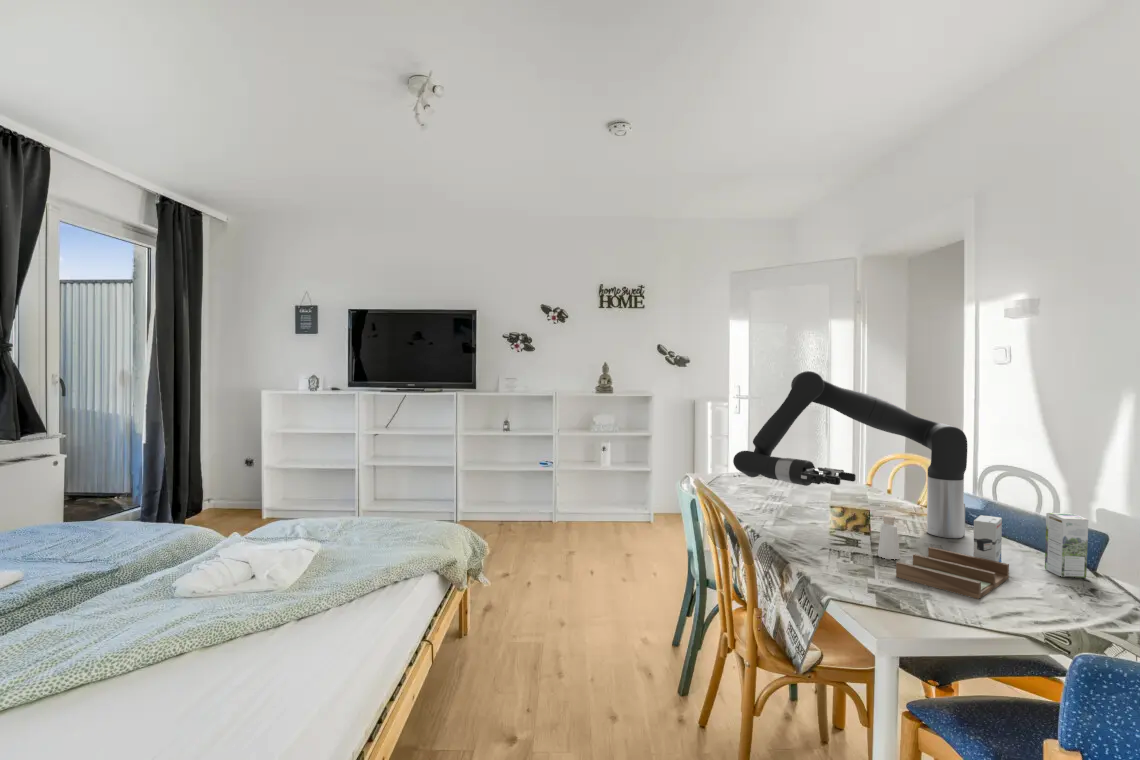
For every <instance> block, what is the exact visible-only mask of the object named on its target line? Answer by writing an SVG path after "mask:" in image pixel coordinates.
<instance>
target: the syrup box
mask: <svg viewBox="0 0 1140 760" xmlns="http://www.w3.org/2000/svg"><path fill="white" fill-rule="evenodd" d="M1045 515H1046V516H1045V544H1044V545H1045V546H1044V548H1045V549H1044V550H1045V551H1044V570H1046V571H1047V572H1050V573H1052V574H1054V575H1056V576H1058V577H1060V576H1061V578H1074V577H1075V578H1077V579H1078V578H1080V579H1086V578H1087V569H1088V568H1087V567H1088V541H1089V540H1088V538H1089V535H1088V534H1089V520H1088V519H1087V518H1086V517H1083V516H1081V515H1078V514H1075V513H1069V512H1068V513H1065V512H1064V513H1063V512H1062V513H1061V512H1047V513H1045Z"/></svg>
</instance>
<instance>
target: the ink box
mask: <svg viewBox="0 0 1140 760" xmlns="http://www.w3.org/2000/svg"><path fill="white" fill-rule="evenodd" d="M1002 521H1003V518H1002V517H998V516H991V515H982V514H980V515H979V516H977V517H976V518H975V519H974V520H973V556H974V557H979V558H983V559H988V560H992V561H997V562H1001V563H1002V544H1003V543H1002V539H1003V538H1002V537H1003V536H1002V535H1003V534H1002V531H1003V530H1002V529H1003V528H1002V525H1003V524H1002V523H1003V522H1002Z"/></svg>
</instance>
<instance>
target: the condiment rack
mask: <svg viewBox="0 0 1140 760" xmlns="http://www.w3.org/2000/svg"><path fill="white" fill-rule="evenodd" d="M927 552H928V555H927V556H926V555H921V554H917V553H913V554H912V564H910V563H905V562H901V561H896V564H895V577H896V578H898V577H899V579H901V580H905V579H906V580H905V581H910V582H912V583H913V582H914V583H916V582H917V584H919V585H920V584H921V585H924V586H928V587H932V588H935V589H940V590H942V589H944V590H943V591H946V590H947V591H946V592H950V591H951V593H954V592H955V593H954V594H957V593H958V595H961V594H962V596H965V595H966V596H965V597H968V596H970V597H969V598H972V597H973V599H976V598H977V599H976V600H980V599H981V598H983V597H984V596H986V595H987V594H989V593H991V592H992V591H993V590H995V589H996V588H997V587H999V586H1000V585H1001V584H1003V583H1005V582H1006V581H1008V580H1009V579H1010V576H1009V575H1010V563H1007V562H1006V563H1005V562H1002V561H1001V562H997V561H992V560H988V559H983V558H979V557H974V555H969V554H965V553H964V554H963V553H960V552H955V551H950V550H946V549H941V548H937V547H933V546H929V547H928V551H927ZM1007 579H1008V580H1007ZM979 598H980V599H979Z"/></svg>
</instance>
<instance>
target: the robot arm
mask: <svg viewBox="0 0 1140 760" xmlns="http://www.w3.org/2000/svg"><path fill="white" fill-rule="evenodd" d="M790 388H791V389H790V391H789V393H788V394H787V395H786V398H785V399H784V401H783V402H782V404H781V405H780V406H779V407H778V409H777V410H776V411H774V413H773V414H772V415H771V416H770V417H769V418H768V419H767V421H766V422H765V423H764V424H763V426H762V427H761V428H760V429H759V431H758V432H757V434H756V435H755V436H754V438H753V440H752V444H753V446H754V449H753V451H751V450H741V451H739V452H737V453H736V454H735V455H734V457H733V460H732V462H733V465H734V467H735V468H736V470H737V471H739V472H740V473H742V474H743V475H745V476H747V477H749V478H756V477H759V476H761V477H762V476H763V477H764V478H767V479H770V480H775V481H780V482H784V483H789V484H795V485H800V486H806V487H808V486H810V485H812V484H815V485H821V484H822V485H826V484H828V485H835V486H839V485H841V481H847V482H856V480H857V479H856V474H855V473H851V472H847V471H846V472H845V470H844V469H836V468H831V467H820V466H819V467H817V468H816V467H815V464H814V463H813V461H810V460H806V459H800V458H791V457H779V456H772V453H773V451H774V450H775V448H776V447H777V446H778V445H779V444H780V442H781V441H782V439H783V438H784V436H786V434H787V433H788V431H789V430H790V428H791V427H792V425H793V424H794V422H795V421H796V420H797V419H798V418H799V416H800V415H801V414H802V413H803V412H804V411H805V410H806V409H807V407H808V406H809V405H811V404H812V403H814V404H818V405H821V406H823V407H828V408H829V409H833V410H834V411H836V412H838V413H840V414H841V415H843V416H846V417H848V418H850V419H852V420H855V421H857V422H859V423H861V424H863V425H864V426H865V425H866V426H868V427H870V428H873V429H875V430H878V431H882V432H886V433H889V434H894V435H897V436H901V437H904V438H907V439H909V440H912V441H914V442H916V443H918V444H920V445H922V446H923V447H925V448H928V449H929V450H930V451H931V454H930V456H931V457H930V465H929V466H928V467H927V491H926V492H927V493H926V494H927V495H926V496H927V497H926V498H927V501H926V505H927V508H926V509H927V510H926V511H927V512H926V513H927V514H926V531H927V532H926V533H928V534H930V535H932V536H936V537H939V538H946V539H947V538H948V539H960V538H963V537H964V536H965V535H966V504H965V503H964V501H965V500H964V499H965V498H964V497H965V494H964V493H965V491H964V490H965V487H964V486H965V484H964V483H965V474H966V473H965V472H966V471H967V465H968V464H967V463H968V439H967V436H966V434H965V432H964V431H963V430H962V429H961V428H958V427H956V426H954V425H951V424H946V423H943V422H942V423H941V422H937V421H934V420H929V419H926V418H924V417H919V416H918V415H915V414H913V413H911V412H910V411H907V410H905V409H904V408H902V407H900V406H898V405H896V404H894V403H892V402H890V401H888V400H885V399H883V398H880V397H877V396H875V395H872V394H868V393H865V392H860V391H857V390H853V389H849V388H844V387H840V386H838V385H836V384H833V383H831V382H828V381H826V380H825V379H823V377H822V375H820V374H819V373H817V372H815V371H812V370H811V371H809V370H806V371H803V372H800V373H798V374H797V375H795V376H794V377H793V379H792V380H791V385H790ZM837 474H838V475H837Z"/></svg>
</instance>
